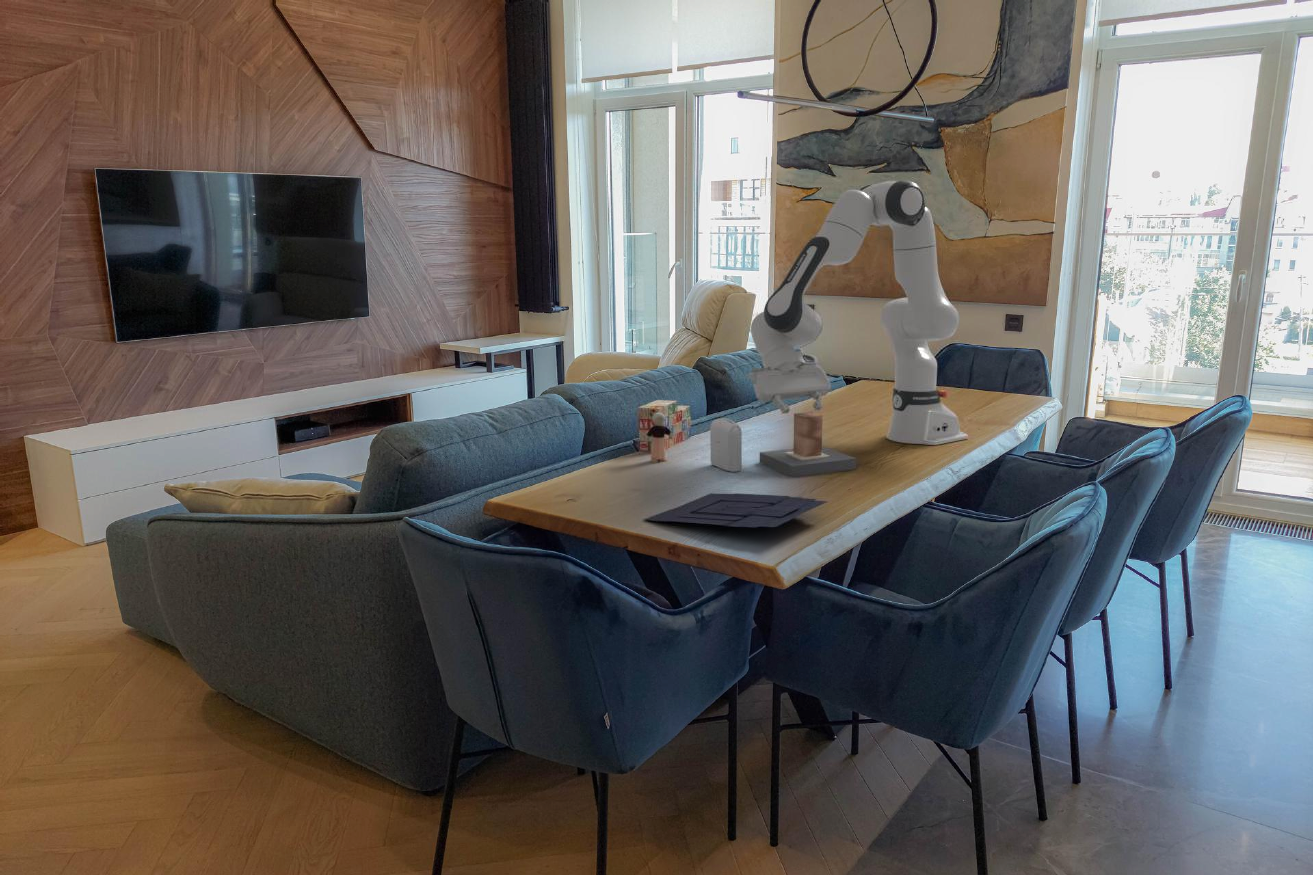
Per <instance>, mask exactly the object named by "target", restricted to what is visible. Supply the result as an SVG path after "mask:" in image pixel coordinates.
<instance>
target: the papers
mask: <svg viewBox="0 0 1313 875" xmlns="http://www.w3.org/2000/svg"><path fill="white" fill-rule="evenodd" d="M826 503H829V500H817V498H809V497H807V498H806V497H803V496H800V497H799V496H798V497H797V496H790V495H777V494H776V495H774V494H756V493H755V494H754V493H708V494H706V495H703V496H700V497H698V498H696V499H693V500H692V501H689V502H686V503H684V504H682V505H680V506H676V507H674V508H673V507H672V508H670V509H669V510H666V511H663V512H660V513H657V514H655V515H651V516H650V517H646V518H644V519H643V520H644V521H645V520H646V521H655V522H676V523H677V522H680V523H693V524H694V523H695V524H703V525H704V524H706V525H717V526H718V525H720V526H721V527H736V528H739V527H743V528H744V527H746V528H757V527H766V528H767V527H768V528H777V527H778V526H781V525H782V524H785V523H787V522H789V521H790V520H792V519H795V518H797V517H798V516H800V515H803V514H805V513H807V512H809V511H812V510H813V509H816V508H817V507H820V506H823V505H824V504H826Z"/></svg>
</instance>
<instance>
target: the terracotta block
mask: <svg viewBox="0 0 1313 875" xmlns="http://www.w3.org/2000/svg"><path fill="white" fill-rule="evenodd" d="M822 446H823V414H819V413H817V412H814V411H813V412H812V411H808V412H798V413H794V414H793V449H794V450H793V453H795V454H797V455H800V456H802V457H810V456H819V455H822Z"/></svg>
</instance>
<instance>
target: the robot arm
mask: <svg viewBox="0 0 1313 875" xmlns="http://www.w3.org/2000/svg"><path fill="white" fill-rule="evenodd" d="M923 192H924V191H922V189H921V187H920V186H919V185H918V184H917V183H915V182H913V181H910V180H903V179H902V180H888V181H887V180H886V181H883V182H880V183H875V184H869V185H865V186H863V187H861V188H860V189H848V190H846V191H844V192H842V193H841V194H840V196H839V197H838V198H837V200H836V201H835V203H834V204H833V206H832V207H831V209H830V211H829V212H828V214H827V216H826V218H825V220H824V222H823V224H822V225H821V228H820V230H819V231H818V233H817V234H816V235H815V237H812V238H811V239H810V240H809V241H808V242H807V243H806V244H805V246H804V247H803V248H802V250H801V251H800V253H799V255H798V256H797V257H796V259H795V261H794V262H793V264H792V266H791V268H790V269H789V271H788V273H787V274H786V276H785V277H784V280H783V281H782V282H781V284H780V285H779V286H778V288H777V289H776V290H775V291H774V292H773V293H772V294H771V295H770V297H769V298H768V300H767V301H766V302H765V305H764V308H763V311H762V312H759V314H757V315H756V316H754V318H753V319H752V322H751V325H750V334H751V337H752V340H753V343H754V346H755V349H756V351H757V353H758V354H759V355H760V356H761V359H762V365H763V367H761V368H753V369H752V370H751V371H750V372H749V378H750V380H751V382H752V383H753V389H754V394H755V397H756V399H757V400H758V401H759V402H761V403H764V402H765V403H767V402H772V403H773V405H774V406H776V407H777V408H778V409H779V410H780V412H781V414H788V413H789V412H790V411H791V409H790V407H789V404H787V403H785V402H783V401H785V400H787V401H788V400H794V399H796V400H797V399H805V398H812V399H813V400H814V403H813V405H812V407H813V408H814V411H821V410H822V408H823V404H822V397H825V396H826V395H827V394H828V393H829V392H830V390H831V386H832V384H831V382H830V379H829V377H828V376H827V373H826V372H825V370H824V368H823V367H821V366H820V365H819V364H818V363H819V361H818V358H817V357H816V356H815V355H810V354H805V353H802V352H798V351H796V350H799V349H801V348H804V347H805V346H807V345H810V344H812V343H813V342H814V341H816V340H817V339H818V338H819V336H820V334H821V333H822V329H823V319H822V317H821V314H819V313H818V312H816V311H815V310H814V309H813V308H812V307H811V306H810V305H808V304H807V303H806V302H805V301H804V300H805V297H804V296H805V293H806V292H807V290H808V288H809V286H810V285H811V284H812V282H813V280H814V278H815V276H816V275H817V273H818V272H819V270H820V269H821V268H822V267H824V266H826V265H827V266H842V265H845V264H848V263H849V262H851V261H853V259H854V258H855V256H856V255H857V254H858V253H859V250H860V249H861V246H862V244H863V242H864V239H865V238H866V235H867V232H868V230H869V228H870V227H873V226H876V227H877V226H878V227H887V226H889V228H890V229H891V231H892V248H893V264H894V266H893V267H894V278H895V280H896V282H897V283H898V284H899V285H900V286H901V287H902V290H903V291H904V294H905V296H906V297H900V298H896V299H893V300H890V301H888V302H887V303H886V304H885V305H884V306H883V308H882V309H881V312H880V317H879V318H880V324H881V326H882V328H883V329H884V331H885V332H886V334H887V335H888V337H889V338H888V339H889V340H890V344H891V348H892V350H893V355H894V365H895V366H894V368H895V370H894V388H893V389H892V415H891V419H890V420H891V421H890V425H889V428H888V432H887V435H886V439H888V440H889V441H893V442H898V443H903V444H917V445H928V446H936V445H937V446H938V445H942V444H946V443H952V442H957V441H962V440H968V438H969V437H968V435H969V434H967V433H966V432H962V431H961V430H960V420H959V418H958V416H957V415H956V414H955V413H954V412H953V411H952V410H951V409H949V408H948V407H947V406H946V405H945V404H943V403H942V402H941V398H942V399H947V398H948V397H949V395H950V394H949V393H948V391H947V390H943V389H942V390H938V389H937V377H938V376H937V374H938V361H937V359H936V358H935V357H936V356H934V355H933V353H932V352H931V350H930V348H929V344H928V342H936V341H937V342H938V341H942V340H946V339H950V338H951V337H952V336H953V335H954V334H955V333H956V331H957V330H958V327H959V325H960V324H959V322H960V315H959V312H958V310H957V309H956V308H957V307H955V306H954V305H953V304H952V303H951V302H950V301H949V299H948V297H947V295H946V293H945V291H944V288H943V286H942V283H941V279H940V276H939V268H938V255H937V254H938V252H937V240H936V239H937V238H936V231H935V225H934V220H933V216H932V213H931V211H930V208H928V207H926V202H925V196H924V193H923Z"/></svg>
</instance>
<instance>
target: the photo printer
mask: <svg viewBox="0 0 1313 875" xmlns="http://www.w3.org/2000/svg"><path fill="white" fill-rule="evenodd" d="M709 429H710V430H709V431H710V464H711V465H712V466H715V467H717V468H719V469H721V470H725V471H728V472H730V473H734V472H735V473H736V472H740V471H741V470H742V469H743V468H742V466H743V465H742V464H743V463H742V458H743V457H742V451H743V450H742V444H743V443H742V439H743V438H742V435H743V434H742V428H741V426H740V425H739V424H737V422H735V421H734V420H732V419H730V418H727V417H721V418H716V419H714V420H713V421H712V422H711V424H710V428H709Z"/></svg>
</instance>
